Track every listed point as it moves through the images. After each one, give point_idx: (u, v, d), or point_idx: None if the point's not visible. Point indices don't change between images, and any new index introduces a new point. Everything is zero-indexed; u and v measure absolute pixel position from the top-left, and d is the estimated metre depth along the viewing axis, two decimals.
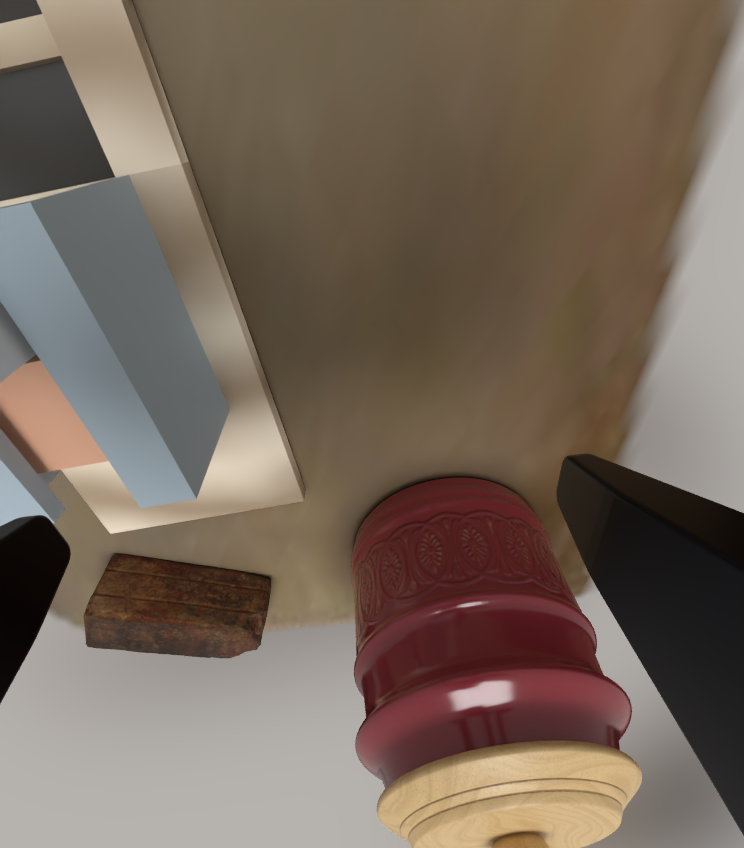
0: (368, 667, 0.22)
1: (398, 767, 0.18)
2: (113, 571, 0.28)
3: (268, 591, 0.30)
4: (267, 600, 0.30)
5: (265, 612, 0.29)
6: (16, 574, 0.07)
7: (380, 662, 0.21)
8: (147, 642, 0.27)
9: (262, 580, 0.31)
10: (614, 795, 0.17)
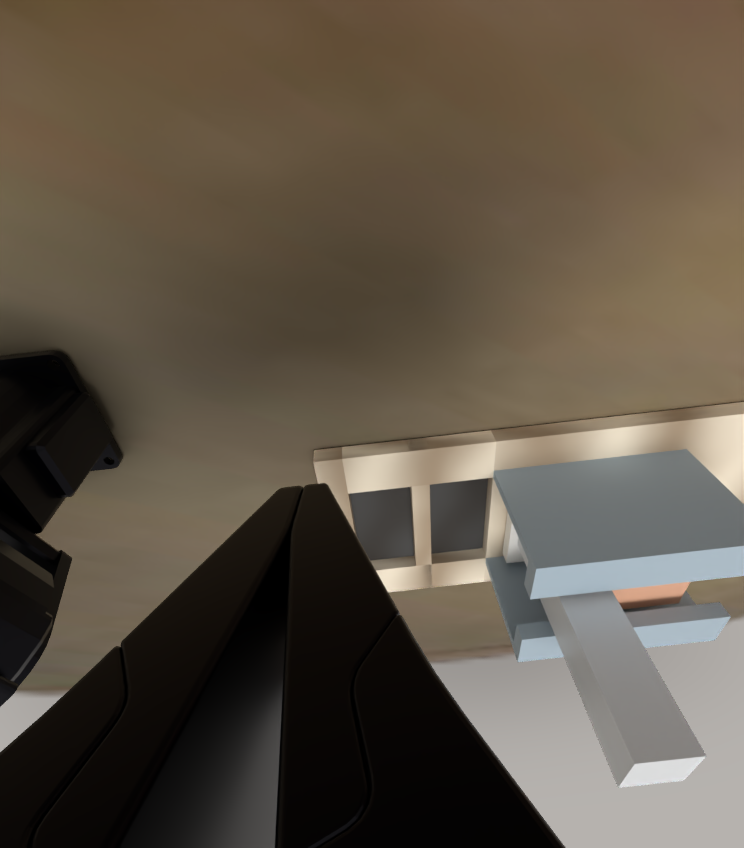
0: None
1: None
2: None
3: None
4: None
5: None
6: None
7: None
8: None
9: None
10: None
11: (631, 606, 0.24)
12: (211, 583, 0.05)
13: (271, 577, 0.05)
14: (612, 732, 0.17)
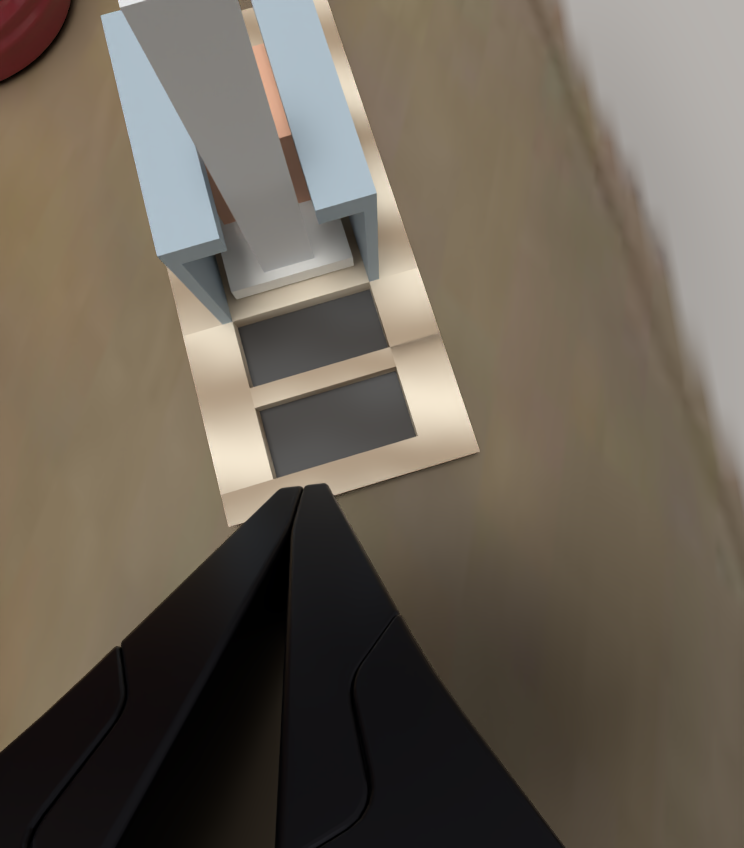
0: None
1: None
2: None
3: None
4: None
5: None
6: None
7: None
8: None
9: None
10: None
11: None
12: (211, 583, 0.05)
13: (271, 577, 0.05)
14: (177, 53, 0.11)
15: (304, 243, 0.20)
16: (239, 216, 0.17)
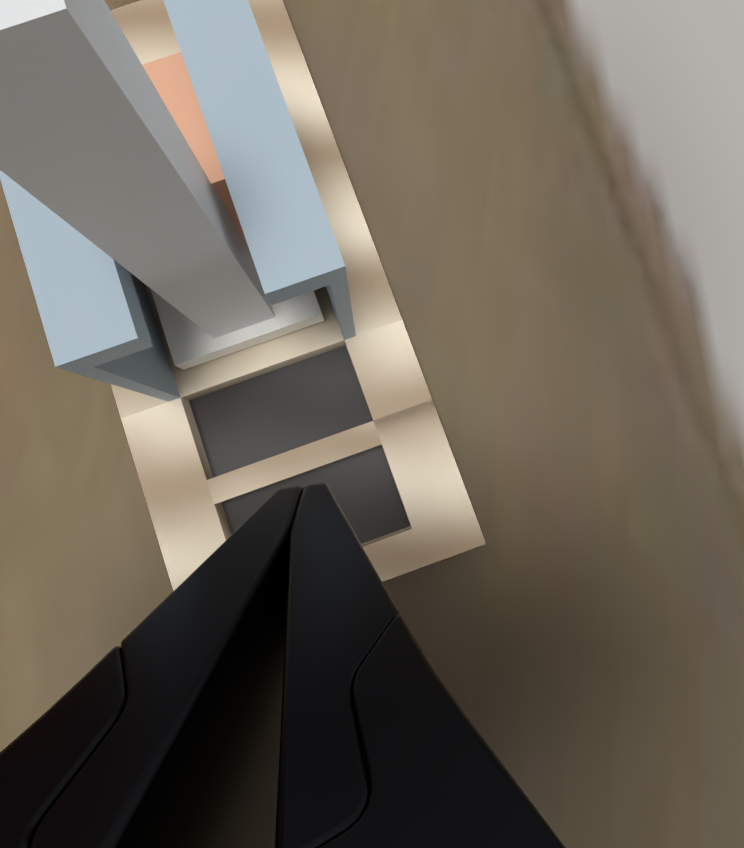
0: None
1: None
2: None
3: None
4: None
5: None
6: None
7: None
8: None
9: None
10: None
11: None
12: (211, 583, 0.05)
13: (271, 577, 0.05)
14: (9, 126, 0.07)
15: (260, 306, 0.16)
16: (167, 294, 0.13)
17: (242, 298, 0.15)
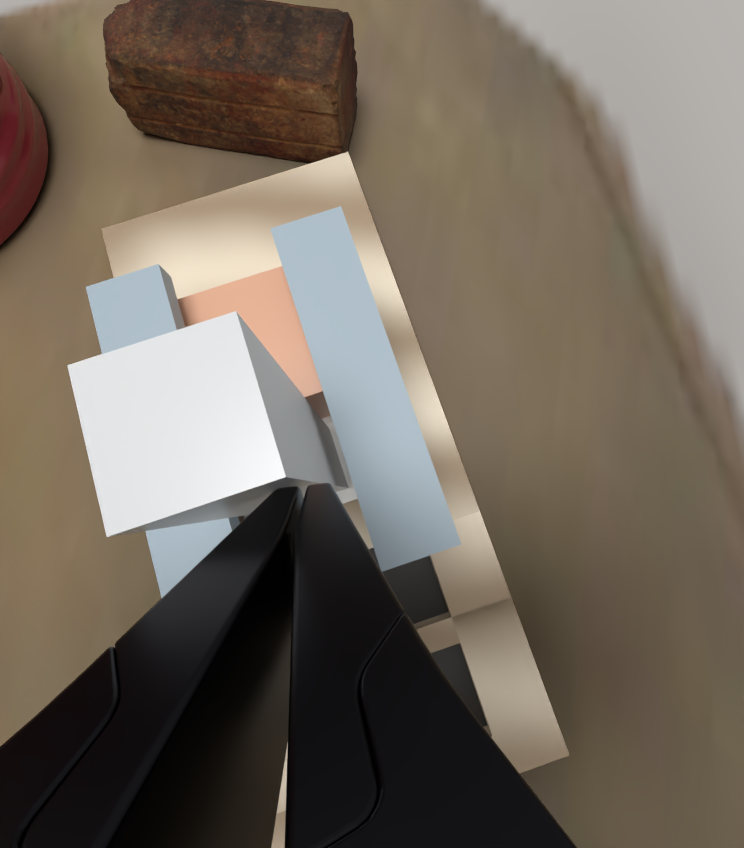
0: None
1: None
2: (331, 145, 0.20)
3: (129, 115, 0.21)
4: (119, 103, 0.20)
5: (110, 84, 0.20)
6: None
7: None
8: (256, 26, 0.18)
9: (148, 131, 0.22)
10: None
11: None
12: (206, 583, 0.05)
13: (267, 577, 0.05)
14: (195, 515, 0.07)
15: (339, 490, 0.16)
16: None
17: None
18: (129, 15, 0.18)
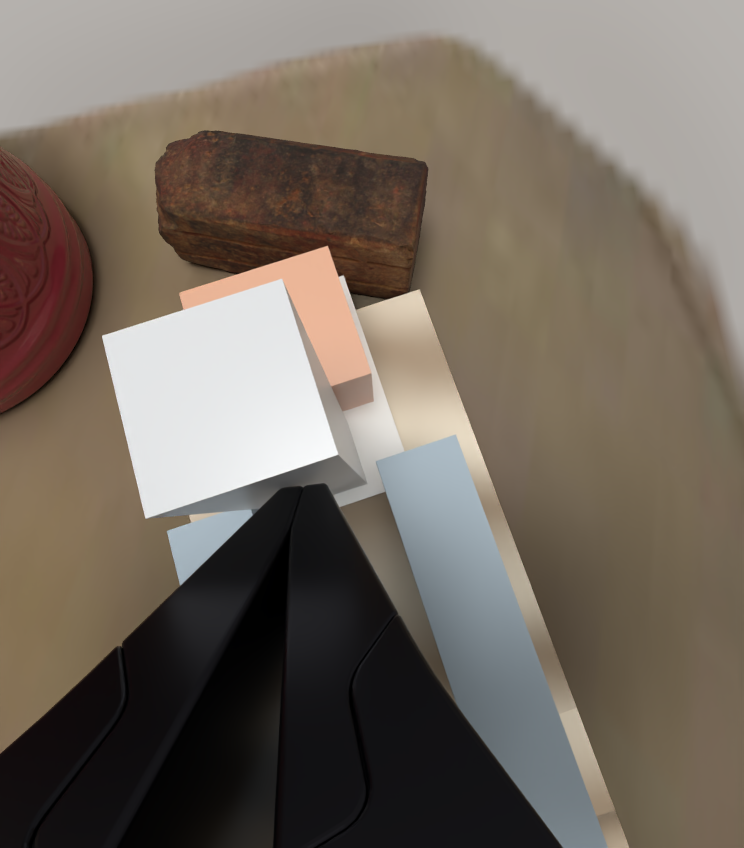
0: None
1: None
2: (397, 286, 0.19)
3: (176, 250, 0.19)
4: (168, 242, 0.19)
5: (160, 227, 0.18)
6: None
7: None
8: (325, 178, 0.16)
9: (195, 262, 0.20)
10: None
11: (346, 319, 0.14)
12: (212, 583, 0.05)
13: (272, 577, 0.05)
14: (233, 500, 0.07)
15: (359, 484, 0.16)
16: None
17: (348, 486, 0.15)
18: (185, 163, 0.17)
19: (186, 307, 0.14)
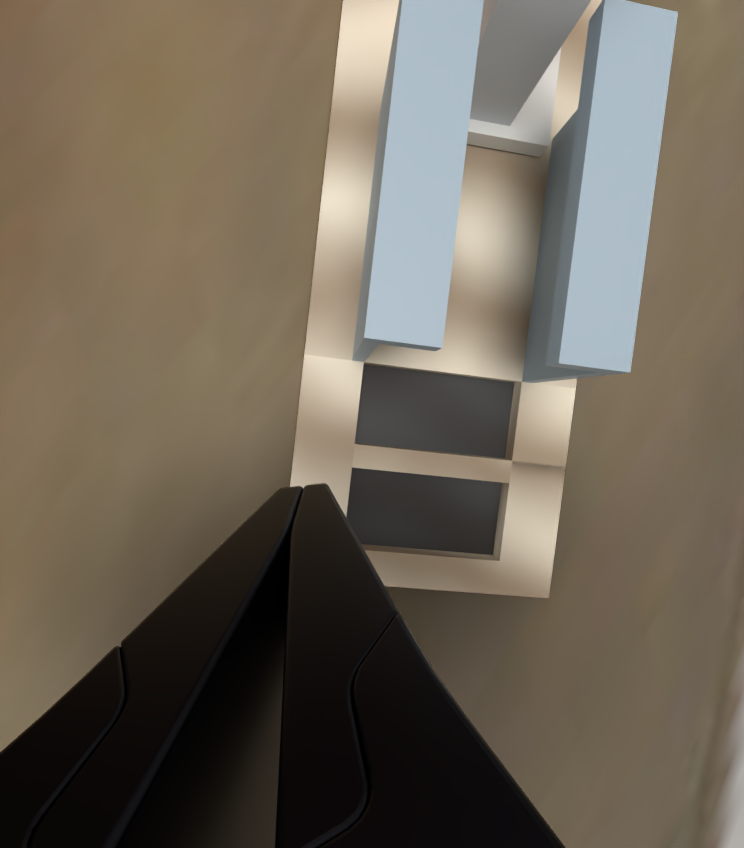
0: None
1: None
2: None
3: None
4: None
5: None
6: None
7: None
8: None
9: None
10: None
11: None
12: (211, 583, 0.05)
13: (271, 577, 0.05)
14: None
15: (518, 102, 0.17)
16: (494, 26, 0.13)
17: (522, 80, 0.15)
18: None
19: None
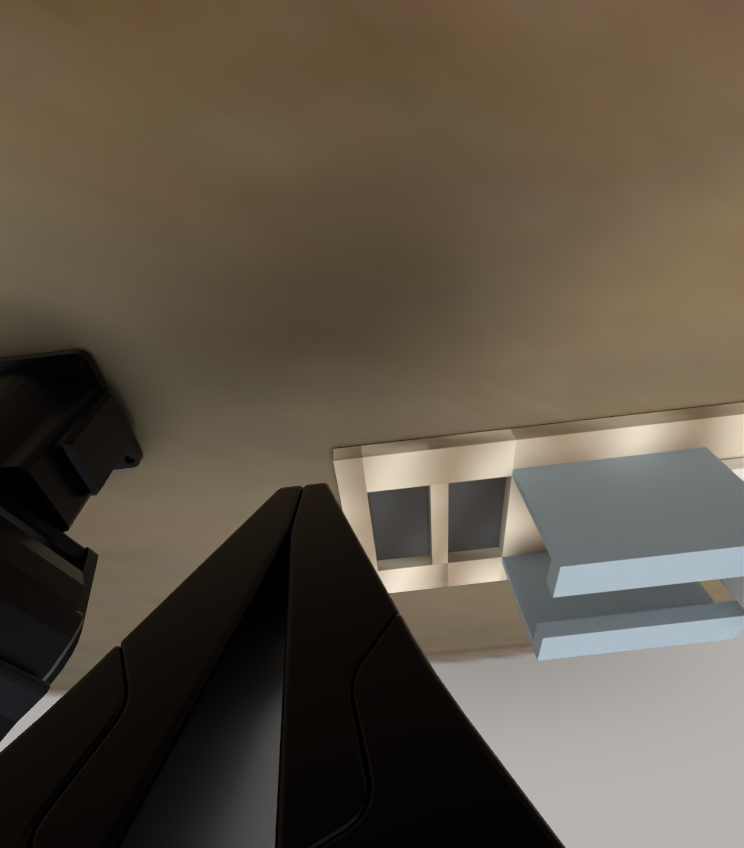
0: None
1: None
2: None
3: None
4: None
5: None
6: None
7: None
8: None
9: None
10: None
11: None
12: (211, 583, 0.05)
13: (271, 577, 0.05)
14: None
15: None
16: None
17: None
18: None
19: None
